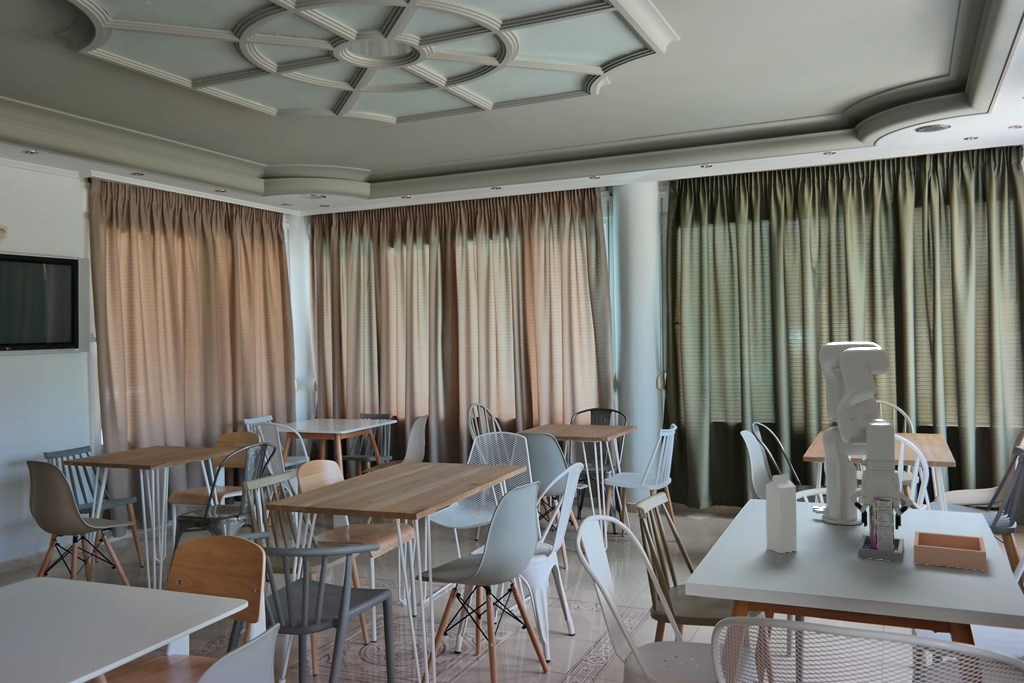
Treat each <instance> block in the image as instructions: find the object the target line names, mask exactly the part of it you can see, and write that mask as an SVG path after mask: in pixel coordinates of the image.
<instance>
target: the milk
mask: <svg viewBox="0 0 1024 683" xmlns="http://www.w3.org/2000/svg"><path fill="white" fill-rule="evenodd" d="M765 510H766V511H765V512H766V513H765V515H766V518H765V521H766V524H765V525H766V532H765V533H766V549H767V550H769V551H771V550H772V552H774V551H775V553H777V552H778V553H777V554H780V553H782V554H787V553H786V552H789V553H793V552H792V551H795V552H797V551H798V548H797V545H798V544H797V542H798V541H797V486H796V485H795V484H794V483H793V481H791V480H790V476H789V473H783V474H775V475H772V480H771V481H770V482H768V483H767V484H765Z"/></svg>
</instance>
